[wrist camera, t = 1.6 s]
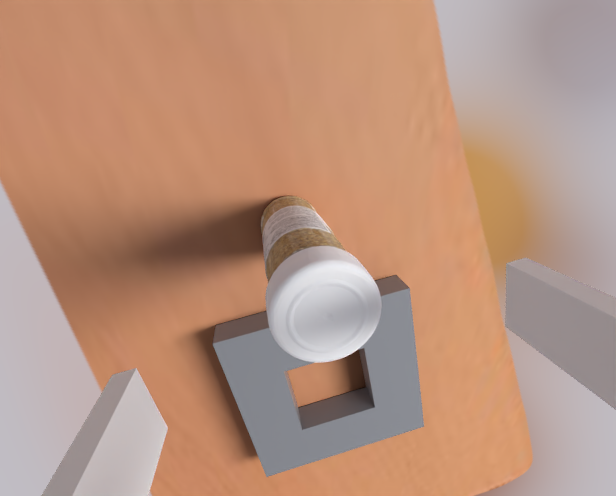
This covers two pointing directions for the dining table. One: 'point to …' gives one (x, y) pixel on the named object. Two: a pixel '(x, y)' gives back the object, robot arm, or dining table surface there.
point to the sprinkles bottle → (314, 285)
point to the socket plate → (330, 412)
